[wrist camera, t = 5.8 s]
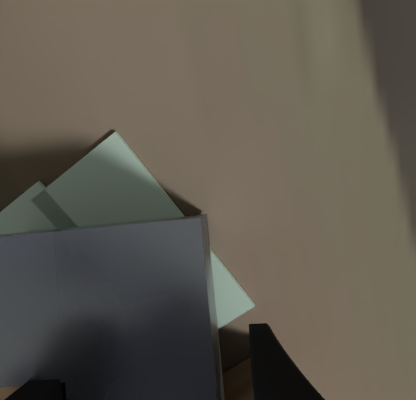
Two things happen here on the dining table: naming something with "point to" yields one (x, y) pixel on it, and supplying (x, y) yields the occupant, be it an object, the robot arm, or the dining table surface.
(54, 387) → the robot arm
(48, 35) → the dining table surface
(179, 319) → the bracket
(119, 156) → the pose pad
